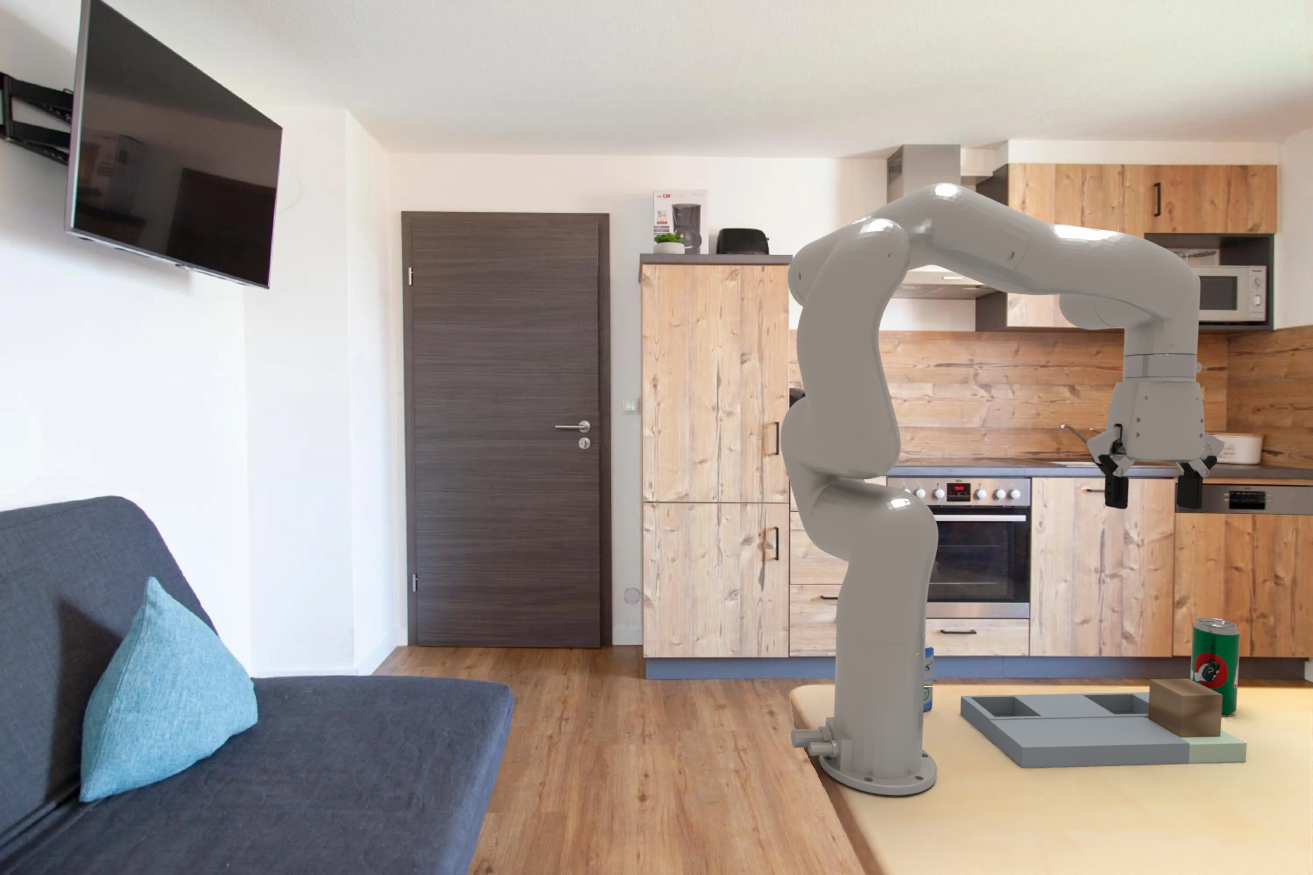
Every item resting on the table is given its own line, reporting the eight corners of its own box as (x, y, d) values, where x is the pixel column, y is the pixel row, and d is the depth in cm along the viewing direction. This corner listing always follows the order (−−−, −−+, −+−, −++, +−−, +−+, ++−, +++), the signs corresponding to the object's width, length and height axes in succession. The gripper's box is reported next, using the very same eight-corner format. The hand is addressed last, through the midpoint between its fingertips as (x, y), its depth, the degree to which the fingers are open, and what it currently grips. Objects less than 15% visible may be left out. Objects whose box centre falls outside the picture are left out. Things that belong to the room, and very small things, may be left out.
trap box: (1022, 767, 81) (1023, 745, 81) (960, 714, 95) (961, 695, 95) (1245, 761, 83) (1246, 740, 83) (1153, 710, 97) (1154, 691, 97)
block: (1180, 737, 84) (1182, 695, 84) (1148, 718, 89) (1149, 679, 89) (1220, 736, 85) (1222, 694, 84) (1185, 718, 90) (1187, 678, 89)
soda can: (1244, 718, 95) (1249, 629, 94) (1201, 715, 96) (1205, 626, 95) (1222, 703, 100) (1227, 617, 99) (1181, 699, 101) (1185, 615, 100)
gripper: (1199, 373, 94) (1192, 503, 95) (1072, 371, 93) (1067, 503, 94) (1250, 371, 87) (1243, 512, 87) (1114, 368, 85) (1108, 512, 86)
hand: (1152, 507), depth 90 cm, fingers open, 9 cm apart
